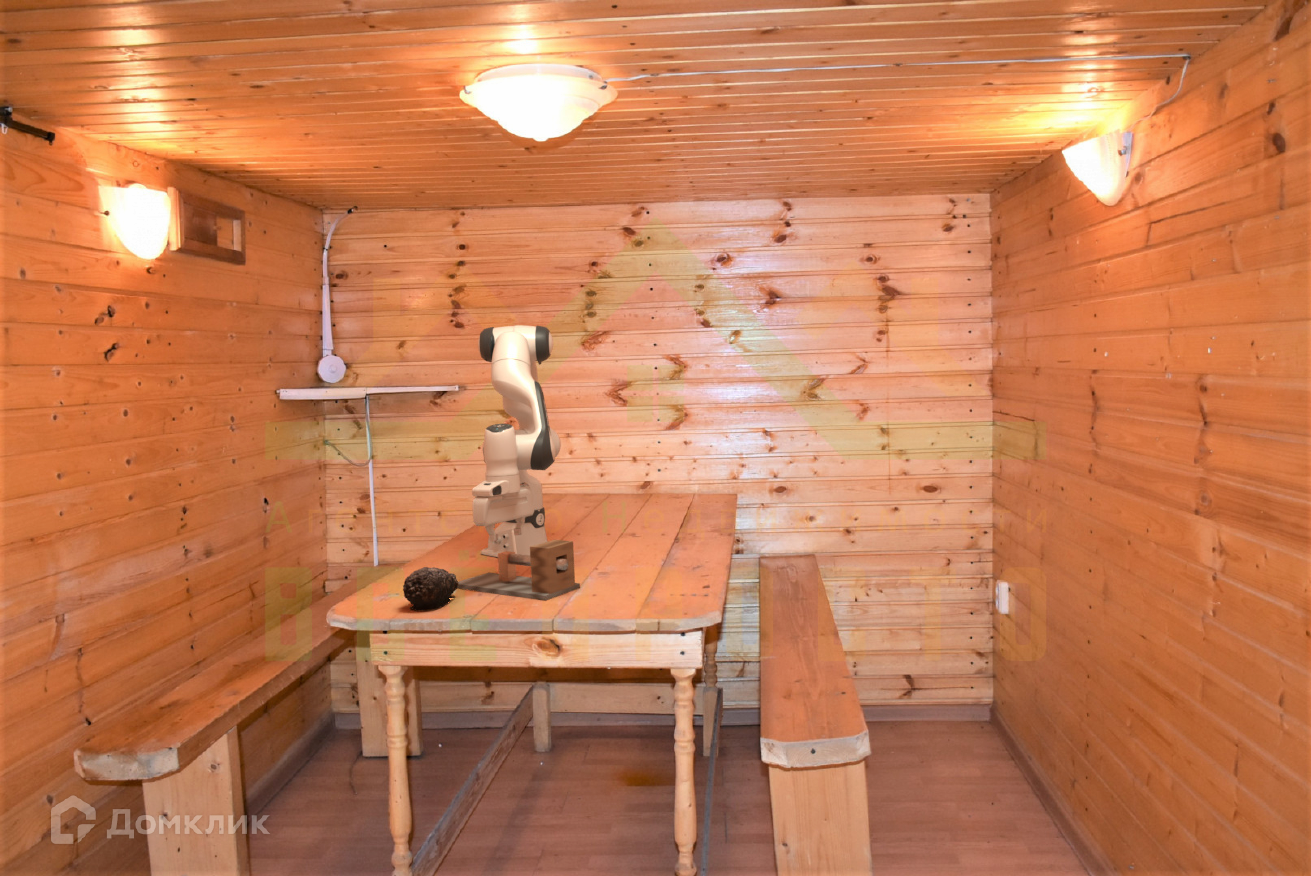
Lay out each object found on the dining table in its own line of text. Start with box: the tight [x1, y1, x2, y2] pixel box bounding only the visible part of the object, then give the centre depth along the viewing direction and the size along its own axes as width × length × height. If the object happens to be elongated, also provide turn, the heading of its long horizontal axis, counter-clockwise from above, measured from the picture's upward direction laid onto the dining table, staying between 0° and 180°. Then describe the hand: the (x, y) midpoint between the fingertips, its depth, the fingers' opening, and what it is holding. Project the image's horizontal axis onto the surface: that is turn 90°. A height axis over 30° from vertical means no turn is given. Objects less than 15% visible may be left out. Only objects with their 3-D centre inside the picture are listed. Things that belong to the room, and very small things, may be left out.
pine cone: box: [402, 566, 459, 612], centre depth 232 cm, size 10×18×10 cm, turn 172°
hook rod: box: [497, 551, 568, 581], centre depth 241 cm, size 21×3×7 cm, turn 57°
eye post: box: [457, 539, 581, 601], centre depth 245 cm, size 32×14×13 cm, turn 57°
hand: (506, 537), depth 245 cm, fingers open, 8 cm apart
